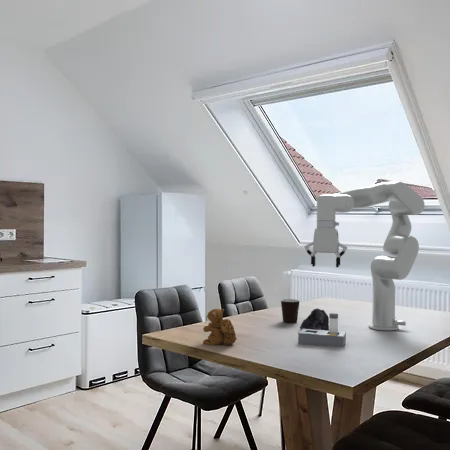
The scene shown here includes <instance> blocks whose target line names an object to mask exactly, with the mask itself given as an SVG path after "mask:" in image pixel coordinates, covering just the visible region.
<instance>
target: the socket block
mask: <svg viewBox="0 0 450 450" xmlns="http://www.w3.org/2000/svg"><path fill="white" fill-rule="evenodd" d="M297 336H298V337H297V340H298V344H299V343H302V344H303V345H311V344H313V346H326V347H337V348H344V346H345V345H346V342H347V340H346V339H347V337H346V336H347V332H346V331H339V330H338V335H336V334H329V331H326V330H312V329H302V330H299V332H298V333H297ZM302 344H301V345H302Z"/></svg>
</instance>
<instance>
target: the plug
mask: <svg viewBox="0 0 450 450" xmlns="http://www.w3.org/2000/svg"><path fill="white" fill-rule="evenodd" d="M328 317H329V334H336V335H338V331H339V313H337V312H336V313H335V312H331V313H329V316H328Z"/></svg>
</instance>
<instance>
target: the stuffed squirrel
mask: <svg viewBox="0 0 450 450" xmlns="http://www.w3.org/2000/svg"><path fill="white" fill-rule="evenodd" d="M224 311H225V309H224V308H221V309H220V308H213V309H211V310H210V311H209V312H207V315H206V317H205V321H208V320H209V321H210V322H208V325H204V326H203V329H202V330H203V332H204V333H207V332H208V333H209V335H208V337H207V338H206V339H204V340H202V344H204V345H209V346H220V345H223V346H229V345H233V344H235V342H236V341H237V339H238V338H237V336H236V332H235V328H234V325H233V324H232V320H231V319H226V318H225V319H223V316H224V315H223V313H224Z"/></svg>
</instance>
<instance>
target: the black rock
mask: <svg viewBox="0 0 450 450" xmlns="http://www.w3.org/2000/svg"><path fill="white" fill-rule="evenodd" d="M302 329H312V330H326V331H329V316H328V314H327V313H326V311H325V310H324V309H320V308H314V309H313V310H312V311H310V314H309V315H308V316H307V317H306V318H305V319H304V320H302V322H301V324H300V326H299V331H301V330H302Z"/></svg>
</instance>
